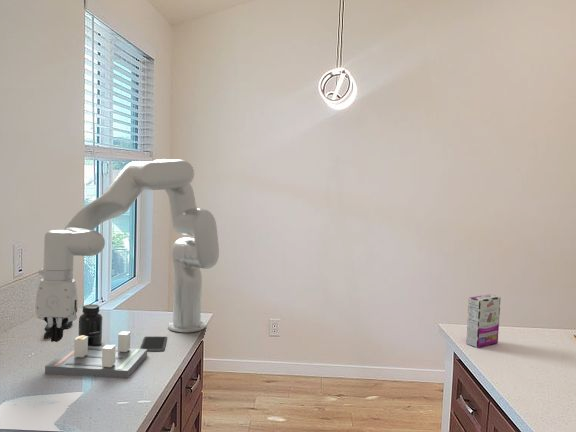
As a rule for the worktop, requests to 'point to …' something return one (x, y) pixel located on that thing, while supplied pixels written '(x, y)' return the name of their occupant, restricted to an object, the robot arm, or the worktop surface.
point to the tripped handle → (81, 346)
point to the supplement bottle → (91, 324)
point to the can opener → (47, 328)
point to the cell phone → (154, 344)
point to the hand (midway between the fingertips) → (56, 340)
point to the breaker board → (96, 363)
